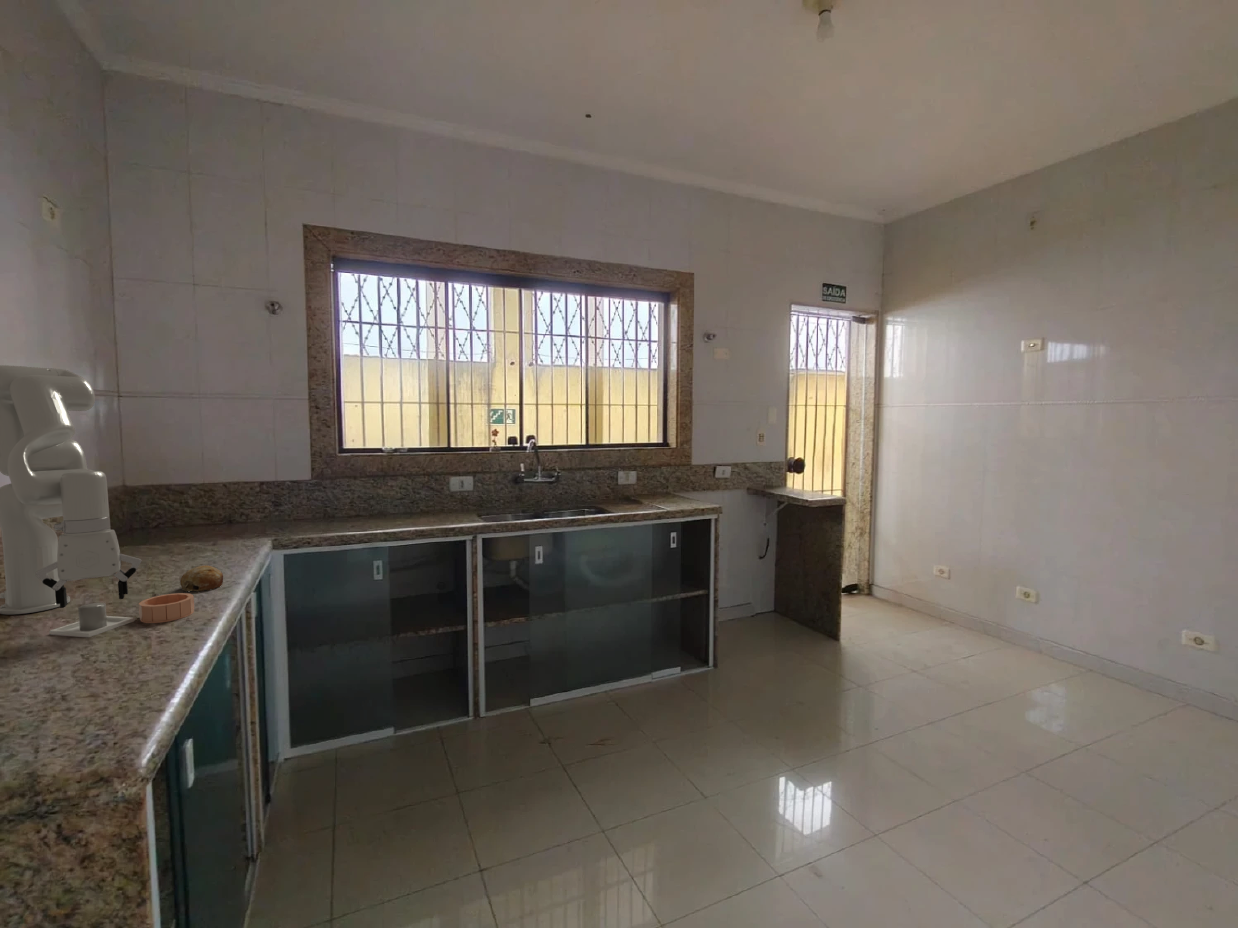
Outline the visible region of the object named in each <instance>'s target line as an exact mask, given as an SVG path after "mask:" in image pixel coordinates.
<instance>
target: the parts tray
mask: <svg viewBox="0 0 1238 928" xmlns="http://www.w3.org/2000/svg"><path fill="white" fill-rule="evenodd" d="M106 618H107V626H105V627H102V628H99V629H97V630H92V631H80V626H79V620H78V621H75V622H72V623H69V624H66V625H63V626H60V627H59V626H58V627H56V628H53V629H51V630H49V635H50V636H65V637H79V638H91V637H94V636H97V635H100V634H103V633H106V632H108V631H111V630H114V629H117V628H121V627H123V626H125V625H128V624H131V623H134V622H135V621H136V620H135V617H133V616H132V617H129V616H114V615H113V616H112V615H106Z"/></svg>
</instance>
